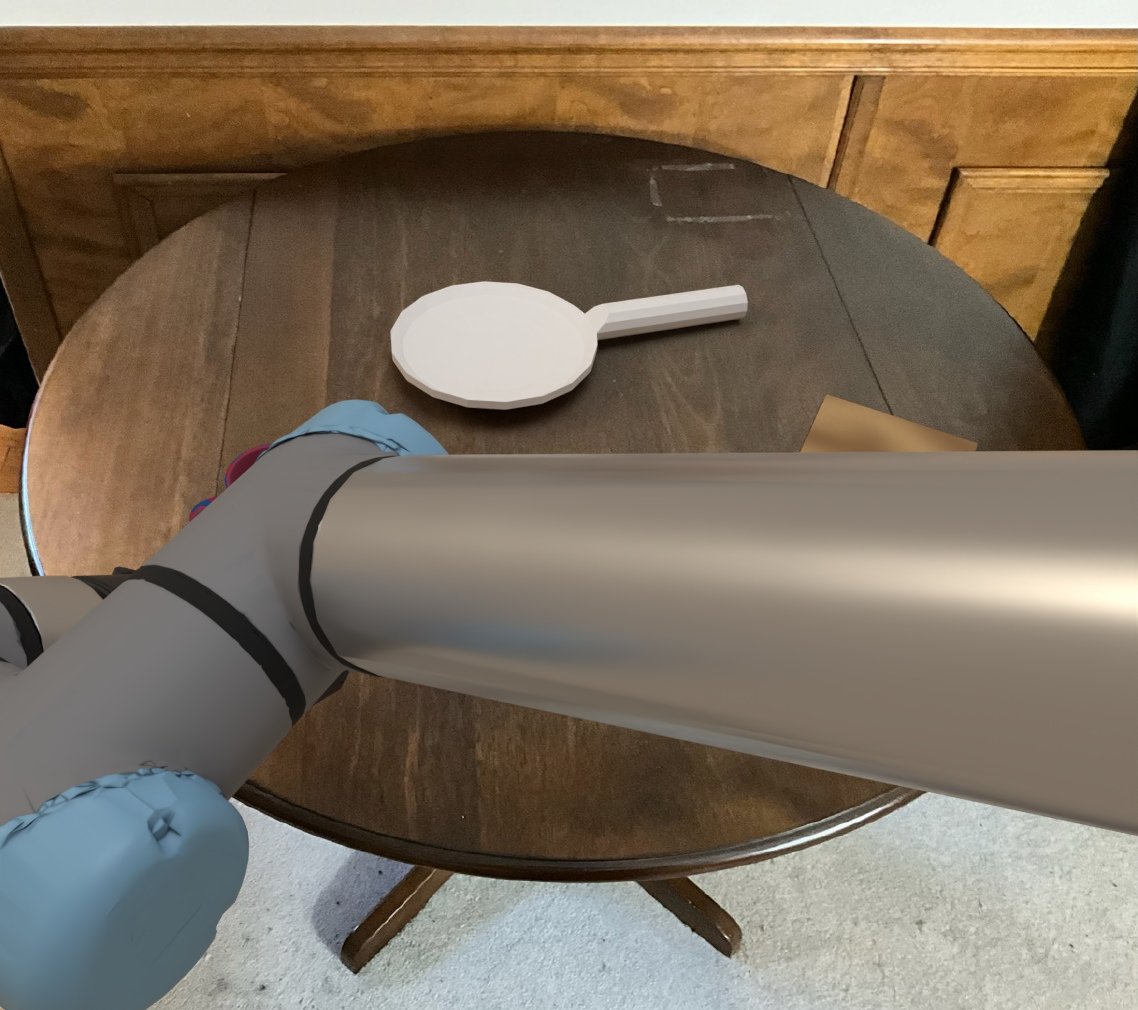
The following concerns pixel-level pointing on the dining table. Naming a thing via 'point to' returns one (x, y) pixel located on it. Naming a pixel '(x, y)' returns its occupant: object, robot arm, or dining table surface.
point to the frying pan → (529, 338)
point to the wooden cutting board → (874, 432)
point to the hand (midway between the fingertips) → (376, 627)
